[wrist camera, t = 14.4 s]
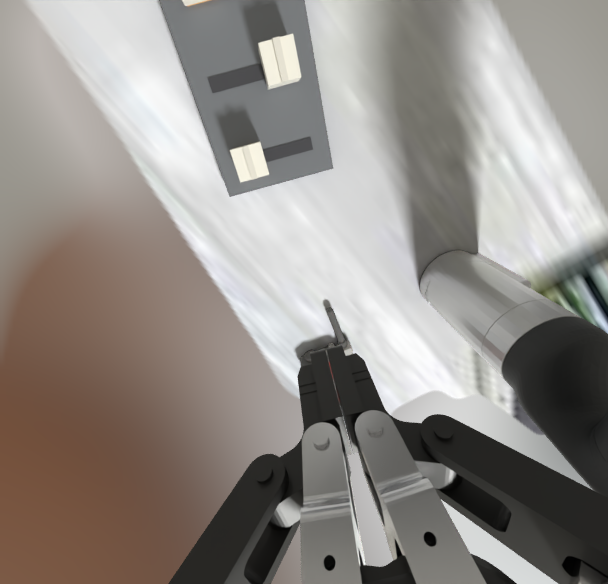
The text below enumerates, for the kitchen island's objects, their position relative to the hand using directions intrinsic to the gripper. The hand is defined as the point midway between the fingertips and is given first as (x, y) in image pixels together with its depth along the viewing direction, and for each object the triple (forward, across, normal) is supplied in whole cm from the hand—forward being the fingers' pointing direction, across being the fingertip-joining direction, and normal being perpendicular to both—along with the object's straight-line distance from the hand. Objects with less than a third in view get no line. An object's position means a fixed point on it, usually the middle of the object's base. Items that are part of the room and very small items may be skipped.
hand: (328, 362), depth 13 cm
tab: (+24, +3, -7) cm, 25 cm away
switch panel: (+26, 0, -14) cm, 30 cm away
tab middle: (+24, -2, -14) cm, 28 cm away
